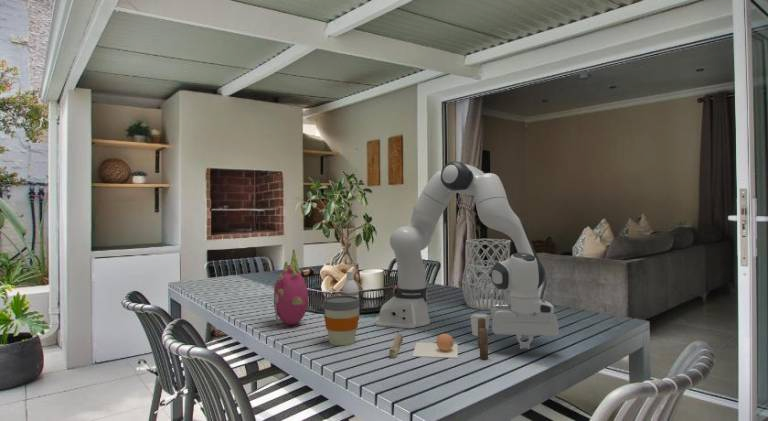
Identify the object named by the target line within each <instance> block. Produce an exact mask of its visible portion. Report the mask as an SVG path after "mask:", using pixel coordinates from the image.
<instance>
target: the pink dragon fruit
mask: <svg viewBox="0 0 768 421" xmlns="http://www.w3.org/2000/svg"><path fill="white" fill-rule="evenodd" d="M290 260H291V261H290V264H288V261H285V262H284V263H283V264H284V265H283V269H282V273H279V274H278V277H277V280H276V282H274V283H273V308H274V316H275V320H276V322H277V323H278V322H279V319H280V320H281V321H282V322H283V323H284V324H285V325H289V326H293V325H297V324H298V323H300V322H301V321H302V319H303V318H304V316H305V314H306V311H307V308H308V304H309V294H308V293H309V292H308V287H307V283H306V282H305V279H304V277H303V275H302V274H301V271H300V267H299V263H298V259H297V255H296V250H295V249H292V256H291V259H290Z"/></svg>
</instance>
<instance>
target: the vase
mask: <svg viewBox="0 0 768 421" xmlns="http://www.w3.org/2000/svg"><path fill="white" fill-rule="evenodd" d="M465 243H466V244H465V245H466V260H465V266H464V270H463V273H462V274H463V275H462V279H461V291H462V295H463V299H464V302H465V304H466V306H467V307H469V308H472V309H476V310H481V311H491V308H492V307H493V306H495V305H497V304H499V305H510V290H501V289H498V288H496V287H495V286H494V284H493V283H492V280H491V270H492V268H493V266H494V265H495V264H496V263H497V262H501V261H505V260H507V259H509V258H510V257H511V254H510V253H511V240H510V239H504V238H502V239H501V238H500V239H499V238H475V239H473V238H472V239H467V240H465ZM475 245H476V247H474V246H475ZM484 245H486V246H487V248H486V249H485V248H484V247H483V246H484ZM496 245H497V246H498V247H497V248H495V247H494V246H496ZM504 246H505V247H504ZM480 249H481V250H482V251H483V252H481V254H479V253H478V252H479V251H480ZM491 249H492V251H493V253H492V255H490V253H489V250H491ZM500 250H501V251H502V254H500V252H499V251H500ZM472 251H473V252H472ZM485 257H487V259H486V260H485ZM496 257H497V259H498V260H495V258H496ZM475 259H477V260H475ZM479 271H480V273H481V275H480V276H478V273H479ZM469 273H470V275H469ZM485 280H486V285H485ZM494 308H496V307H494Z"/></svg>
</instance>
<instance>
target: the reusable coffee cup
mask: <svg viewBox="0 0 768 421" xmlns="http://www.w3.org/2000/svg"><path fill="white" fill-rule="evenodd" d="M322 307H323V309H324V315H323V317H324V324H325V329H326V330H327V334H328V342H329V344H330V345H333V346H348V345H352V344H354V343H355V342H356V333H357V329H358V327H359V319H360V313H359V314H358V308H359V309H360V297H359V298H358V297H355V296H345V295H343V296H342V295H334V296H328V297H326V298H324V300H323V306H322ZM358 318H359V319H358Z"/></svg>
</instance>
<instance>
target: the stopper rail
mask: <svg viewBox="0 0 768 421" xmlns="http://www.w3.org/2000/svg"><path fill="white" fill-rule="evenodd" d="M403 339H404V337H403V333H396V334H395V337H394V339H393V341H392V344H391V346H390V348H389V358H390V359H397V357H398V354H399V351H400V349H401V346H402V344H403Z"/></svg>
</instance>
